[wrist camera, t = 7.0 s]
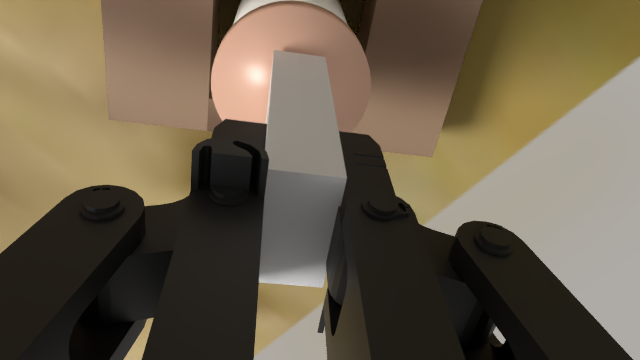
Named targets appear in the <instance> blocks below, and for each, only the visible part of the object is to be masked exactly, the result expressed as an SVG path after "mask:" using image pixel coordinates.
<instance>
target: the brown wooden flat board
mask: <svg viewBox="0 0 640 360" xmlns="http://www.w3.org/2000/svg"><path fill="white" fill-rule="evenodd" d="M482 2H483V0H365V3H364V8H363V13H362V18H361V23H360V28H359V32H358V37H357V38H358V40H359V41H360V44H361V46H362V48H363V51H364V53H365V56H366V59H367V61H368V65H369V69H370V76H371V91H370V98H369V102H368V105H367V108H366V111H365V113H364V115H363V117H362V119H361V120H360V122H359V124H358V125H357V126H356V128H355V129H354V130H353V131H352V133H358V134H366V135H369V136H371V137H372V138H373V139H374V140H375V141H376V142H377V143H378V144H379V145H380V147H381V151H383V152H391V153H400V154H408V155H417V156H426V157H433V154H434V151H435V148H436V144H437V141H438V138H439V135H440V132H441V129H442V126H443V123H444V120H445V117H446V113H447V110H448V107H449V104H450V101H451V98H452V95H453V92H454V89H455V85H456V82H457V79H458V76H459V73H460V70H461V67H462V64H463V61H464V57H465V54H466V51H467V48H468V45H469V42H470V39H471V36H472V33H473V30H474V26H475V23H476V20H477V17H478V14H479V11H480V8H481V5H482ZM101 6H102V21H103V36H104V51H105V66H106V81H107V96H108V111H109V120H117V121H126V122H134V123H143V124H152V125H160V126H169V127H177V128H186V129H194V130H203V131H212V132H213V130H214V127H216V126H217V125H218V124H220V123H221V122H222V120H221V118H220V116H219V114H218V112H217V110H216V108H215V104H214V101H213V98H212V91H211V73H212V67H213V63H214V59H215V56H216V54H217V45H218V27H219V8H220V0H101Z"/></svg>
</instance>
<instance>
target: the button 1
mask: <svg viewBox="0 0 640 360" xmlns="http://www.w3.org/2000/svg"><path fill="white" fill-rule="evenodd" d="M274 50H279V51H286V52H293V53H301V54H308V55H315V56H322V57H325V58H326V63H327V69H328V74H329V80H330V86H331V91H332V97H333V102H334V108H335V114H336V119H337V125H338V130H339V131H342V132H350V133H352V131H353V130H354V129H355V128H356V126H357V125H358V124H359V122H360V120H361V119H362V117H363V115H364V113H365V111H366V108H367V105H368V102H369V98H370V91H371V76H370V69H369V65H368V61H367V59H366V56H365V53H364V51H363V48H362V46H361V44H360V41H359V40H358V38H357V36H356V35H355V33H354V32H353V31H352V29H351V28H350V27H349V26H348V24H347V21H346V18H345V16H344V13H343V10H342V7H341V4H340V2H339V0H241V2H240V4H239V7H238V11H237V14H236V17H235V20H234V23H233V25H232V27H231V28H230V29H229V30H228V31H227V33H226V35H225V36H224V38H223V39H222V41H221V44H220V46H219V48H218V51H217V54H216V56H215V59H214V63H213V67H212V73H211V91H212V98H213V101H214V104H215V108H216V110H217V112H218V114H219V116H220V118H221V120H222V121H224V120H225V119H231V120H239V121H247V122H255V123H264V124H265V123H266V114H267V106H268V97H269V88H270V80H271V71H272V62H273V53H274Z"/></svg>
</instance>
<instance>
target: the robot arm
mask: <svg viewBox="0 0 640 360" xmlns="http://www.w3.org/2000/svg"><path fill="white" fill-rule="evenodd" d="M383 158H384V157H383V154H382V151H381V147H380V145H379V144H378V143H377V142H376V141H375V140H374V139H373V138H372V137H371V136H369V135H366V134H358V133H350V132H342V131H339V130H338V125H337V119H336V114H335V108H334V102H333V97H332V91H331V86H330V80H329V74H328V69H327V63H326V58H325V57H322V56H315V55H308V54H301V53H293V52H286V51H279V50H274V53H273V62H272V71H271V80H270V88H269V97H268V106H267V114H266V123H265V124H264V123H255V122H247V121H239V120H231V119H225V120H224V121H222V122H221V123H220V124H218V125H217V126H216V127H214V130H213V134H212V138H211V139H206V140H204V141H202V142H200V143H198V144H197V145H196V146H195V147H194V149H193V150H192V167H191V191H190V195H189V196H188V197H186V198H184V199H182V200H179V201H176V202H173V203H168V204H163V205H154V206H144V202H143V199H142V198H141V197H140V196H139V195H138V194H137V193H136V192H135V191H132V190H130V189H127V188H125V187H121V186H113V185H101V186H100V185H98V186H91V187H87V188H84V189H81V190H77V191H75V192H74V193H72V194H70V195H69V196H67V197H65V198H64V199H63V200H62V201H61V202H60V203H58V204H57V205H56V206H55V207H54V208H53V209H51V210H50V211H49V212H48V213H47V214H46V215H45V216H43V217H42V218H41V219H40V220H39V221H38V222H36V223H35V224H34V225H33V226H32V227H31V228H29V229H28V230H27V231H26V232H25V233H24V234H23V235H21V236H20V237H19V238H18V239H17V240H16V241H14V242H13V243H12V244H11V245H10V246H9V247H8V248H6V249H5V250H4V251H3V252H2V253H1V254H0V360H123V359H124V358H125V356H126V355H127V353H128V351H129V350H130V348H131V347H132V345H133V344H134V342H135V341H136V339H137V337H138V336H139V334H140V333H141V331H142V330H143V328H144V326H145V323H146V320H147V319H148V318H153V317H154V319H153V323H152V326H151V330H150V333H149V337H148V340H147V344H146V347H145V350H144V354H143V357H142V360H253V358H254V343H255V329H256V314H257V299H258V285H259V282H261V283H274V284H286V285H298V286H310V287H322V288H323V283H324V279H325V274H326V270H327V281H328V288H327V292H326V297H325V301H324V305H323V310H322V314H321V318H320V323H319V328H318V333H323V330H324V326H325V332H326V347H327V360H633V359H632V358H631V357H630V356H629V355H628V354H627V353H626V352H625V351H624V349H623V348H622V347H621V346H620V345H619V344H618V343H617V342H616V341H615V340H614V339H613V338H612V337H611V335H610V334H609V333H608V332H607V331H606V330H605V329H604V328H603V327H602V326H601V325H600V323H599V322H598V321H597V320H596V319H595V318H594V317H593V316H592V315H591V314H590V313H589V312H588V311H587V309H586V308H585V307H584V306H583V305H582V304H581V303H580V302H579V301H578V300H577V299H576V298H575V297H574V296H573V294H571V292H570V291H569V290H568V289H567V288H566V287H565V286H564V285H563V284H562V283H561V281H560V280H559V279H558V278H557V277H556V276H555V275H554V274H553V273H552V272H551V271H550V270H549V269H548V267H547V266H546V265H545V264H544V263H543V262H542V261H541V260H540V259H539V258H538V257H537V256H536V255H535V253H534V252H533V251H532V250H531V249H530V248H529V247H528V246H527V245H526V244H525V243H524V242H523V241H522V240H521V239H520V238H519V237H518V236H516V235H515V234H514V233H513V232H511V231H509V230H507V229H505V228H503V227H502V226H499V225H497V224H493V223H489V222H483V221H471V222H467V223H464V224H462V226H460V227H459V228H458V230H457V233H456V235H455V237H454V236H451V235H448V234H445V233H441V232H438V231H435V230H432V229H429V228H427V227H424V226H422V225H420V224H418V221H417V218H416V215H415V213H414V211H413V210H412V208H411V206H410V205H409V204H407V203H406V202H405V201H404V200H402V199H401V198H399V197H397V196H396V195H395V192H394V189H393V186H392V183H391V179H390V176H389V173H388V170H387V169H386V163H385V160H384V159H383ZM496 326H497V328H498V329H499V331H500V332H501V333H502V335H503V336H504V338H505V339H506V341H505V343H504V344H501V343H500V341H499V340H498V339H497V338H496V336H495V335H494V334H493V331H494V329H495V327H496Z"/></svg>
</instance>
